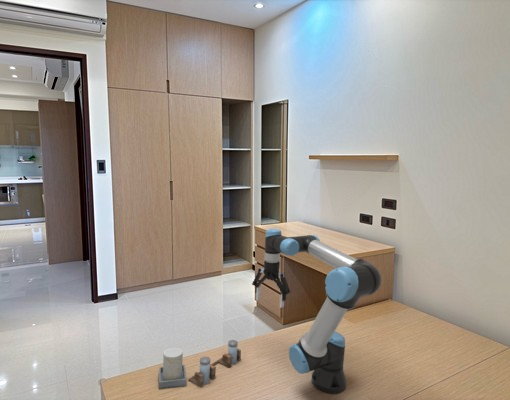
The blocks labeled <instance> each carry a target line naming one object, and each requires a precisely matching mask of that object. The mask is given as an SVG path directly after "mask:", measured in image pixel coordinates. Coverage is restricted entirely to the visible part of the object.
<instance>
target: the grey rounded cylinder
mask: <svg viewBox="0 0 510 400" xmlns="http://www.w3.org/2000/svg"><path fill="white" fill-rule="evenodd" d="M210 364H211V358H210V357H209V356H202V357H200V358H199V372H200V374H202V375H203V385H208V384H209V383H210V378H209V377H210Z"/></svg>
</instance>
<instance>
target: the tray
mask: <svg viewBox="0 0 510 400" xmlns="http://www.w3.org/2000/svg"><path fill="white" fill-rule="evenodd" d="M186 386H187V374H186V365H185V364H182V379H178V380H169V381H163V366H159V368H158V390H162V389H164V390H165V389H173V388H180V387H186Z"/></svg>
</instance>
